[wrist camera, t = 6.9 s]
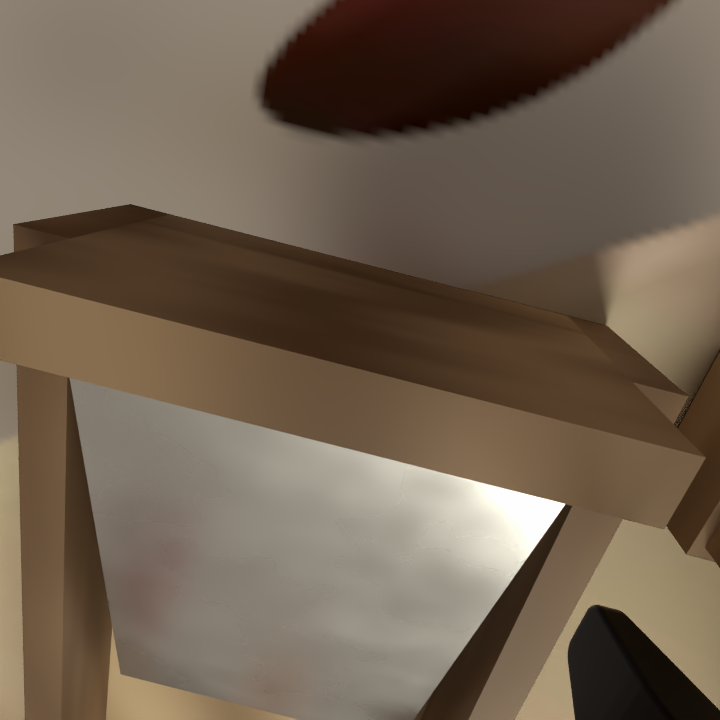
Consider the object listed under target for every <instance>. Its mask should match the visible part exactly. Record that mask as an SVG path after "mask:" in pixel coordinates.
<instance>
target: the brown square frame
mask: <svg viewBox="0 0 720 720" xmlns="http://www.w3.org/2000/svg"><path fill="white" fill-rule="evenodd" d="M678 429H679V430H680V431H681V432H682V434H683V435H684V436H685V437H686V438H687V439H688V440H689V441H690V442H691V443H692V444H693V445H694V446H695V447H696V448H697V449H698V450H699V451H700V452H701V453H702V454H703V455H704V456H705V457H706V458H705V460H704V462H703V464H702V465H701V467H700V469H699V470H698V472H697V474H696V476H695V477H694V479H693V481H692V482H691V484H690V486H689V488H688V489H687V491H686V493H685V494H684V496H683V498H682V500H681V501H680V503H679V505H678V506H677V508H676V510H675V512H674V513H673V515H672V517H671V518H670V520H669V522H668V524H667V525H666V526H667V527H668V529H669V530H670V532H671V533H672V535H673V536H674V538H675V539H676V540H677V542H678V543H679V545H680V546H681V548H682V549H683V551H684V552H685V553H686V555H690V556H694V557H698V558H702V559H706V560H710V561H714V562H716V563H717V565H718V566H719V567H720V352H719V354H718V356H717V357H716V359H715V361H714V363H713V365H712V367H711V368H710V370H709V372H708V374H707V376H706V378H705V379H704V381H703V383H702V385H701V387H700V389H699V390H698V392H697V394H696V396H695V398H694V400H693V402H692V403H691V405H690V407H689V409H688V411H687V413H686V414H685V416H684V418H683V420H682V422H681V424H680V425H679V427H678Z"/></svg>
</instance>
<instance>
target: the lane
mask: <svg viewBox="0 0 720 720" xmlns="http://www.w3.org/2000/svg"><path fill="white" fill-rule="evenodd" d="M13 227H14V252H13V253H9V254H4V255H1V256H0V360H1V361H5V362H9V363H13V364H17V395H18V396H17V397H18V441H19V484H20V526H21V569H22V611H23V654H24V697H25V720H298V719H294V718H290V717H286V716H282V715H278V714H275V713H271V712H267V711H263V710H259V709H255V708H251V707H247V706H243V705H239V704H235V703H231V702H227V701H223V700H219V699H216V698H212V697H208V696H204V695H200V694H196V693H192V692H188V691H184V690H180V689H176V688H172V687H168V686H164V685H160V684H156V683H153V682H149V681H145V680H141V679H137V678H133V677H129V676H125V675H121V674H120V668H119V662H118V656H117V651H116V645H115V639H114V633H113V627H112V622H111V616H110V610H109V604H108V598H107V592H106V587H105V581H104V575H103V569H102V563H101V558H100V552H99V546H98V540H97V534H96V529H95V523H94V517H93V511H92V505H91V500H90V494H89V488H88V482H87V476H86V471H85V465H84V459H83V453H82V447H81V441H80V436H79V430H78V424H77V418H76V412H75V407H74V401H73V395H72V389H71V383H70V378H72V379H76V380H80V381H84V382H88V383H92V384H96V385H100V386H104V387H107V388H111V389H115V390H119V391H123V392H127V393H131V394H135V395H139V396H143V397H147V398H151V399H155V400H158V401H162V402H166V403H170V404H174V405H178V406H182V407H186V408H190V409H194V410H198V411H202V412H206V413H209V414H213V415H217V416H221V417H225V418H229V419H233V420H237V421H241V422H245V423H249V424H253V425H257V426H261V427H264V428H268V429H272V430H276V431H280V432H284V433H288V434H292V435H296V436H300V437H304V438H308V439H312V440H315V441H319V442H323V443H327V444H331V445H335V446H339V447H343V448H347V449H351V450H355V451H359V452H363V453H366V454H370V455H374V456H378V457H382V458H386V459H390V460H394V461H398V462H402V463H406V464H410V465H414V466H417V467H421V468H425V469H429V470H433V471H437V472H441V473H445V474H449V475H453V476H457V477H461V478H465V479H469V480H472V481H476V482H480V483H484V484H488V485H492V486H496V487H500V488H504V489H508V490H512V491H516V492H520V493H523V494H527V495H531V496H535V497H539V498H543V499H547V500H551V501H555V502H559V503H563V504H565V505H564V507H563V508H562V509H561V511H560V512H559V514H558V515H557V516H556V518H555V519H554V521H553V522H552V524H551V525H550V526H549V528H548V529H547V531H546V532H545V534H544V535H543V536H542V538H541V539H540V541H539V542H538V544H537V545H536V546H535V548H534V549H533V551H532V552H531V553H530V555H529V556H528V558H527V559H526V561H525V562H524V563H523V565H522V566H521V568H520V569H519V571H518V572H517V573H516V575H515V576H514V578H513V579H512V580H511V582H510V583H509V585H508V586H507V588H506V589H505V590H504V592H503V593H502V595H501V596H500V598H499V599H498V600H497V602H496V603H495V605H494V606H493V607H492V609H491V610H490V612H489V613H488V615H487V616H486V617H485V619H484V620H483V622H482V623H481V625H480V626H479V627H478V629H477V630H476V632H475V633H474V635H473V636H472V637H471V639H470V640H469V642H468V643H467V644H466V646H465V647H464V649H463V650H462V652H461V653H460V654H459V656H458V657H457V659H456V660H455V662H454V663H453V664H452V666H451V667H450V669H449V670H448V671H447V673H446V674H445V676H444V677H443V679H442V680H441V681H440V683H439V684H438V686H437V687H436V689H435V690H434V691H433V693H432V694H431V696H430V697H429V699H428V700H427V701H426V703H425V704H424V706H423V707H422V708H421V710H420V711H419V713H418V714H417V716H416V717H415V718H414V720H515V718H516V716H517V714H518V712H519V711H520V709H521V707H522V705H523V703H524V701H525V699H526V698H527V696H528V694H529V692H530V690H531V688H532V686H533V685H534V683H535V681H536V679H537V677H538V675H539V673H540V672H541V670H542V668H543V666H544V664H545V662H546V660H547V659H548V657H549V655H550V653H551V651H552V649H553V647H554V646H555V644H556V642H557V640H558V638H559V636H560V634H561V633H562V631H563V629H564V627H565V625H566V623H567V621H568V620H569V618H570V616H571V614H572V612H573V610H574V608H575V607H576V605H577V603H578V601H579V599H580V597H581V595H582V594H583V592H584V590H585V588H586V586H587V584H588V582H589V581H590V579H591V577H592V575H593V573H594V571H595V569H596V568H597V566H598V564H599V562H600V560H601V558H602V556H603V555H604V553H605V551H606V549H607V547H608V545H609V543H610V542H611V540H612V538H613V536H614V534H615V532H616V530H617V529H618V527H619V525H620V523H621V521H622V519H625V520H629V521H633V522H637V523H641V524H645V525H649V526H653V527H657V528H661V529H665V527H666V525H667V524H668V522H669V520H670V518H671V517H672V515H673V513H674V512H675V510H676V508H677V506H678V505H679V503H680V501H681V500H682V498H683V496H684V494H685V493H686V491H687V489H688V488H689V486H690V484H691V482H692V481H693V479H694V477H695V476H696V474H697V472H698V470H699V469H700V467H701V465H702V464H703V462H704V460H705V458H706V457H705V456H704V455H703V454H702V453H701V452H700V451H699V450H698V449H697V448H696V447H695V446H694V445H693V444H692V443H691V442H690V441H689V440H688V439H687V438H686V437H685V436H684V435H683V434H682V432H681V431H680V430H679V429H678V428H677V427H676V426H675V425H674V423H675V421H676V419H677V417H678V415H679V414H680V412H681V410H682V408H683V406H684V404H685V402H686V401H687V399H688V396H687V395H686V394H685V393H684V392H683V391H682V390H680V389H679V388H678V387H677V386H676V385H675V384H673V383H672V382H671V381H670V380H669V379H668V378H667V377H665V376H664V375H663V374H662V373H661V372H660V371H658V370H657V369H656V368H655V367H654V366H653V365H652V364H650V363H649V362H648V361H647V360H646V359H645V358H643V357H642V356H641V355H640V354H639V353H638V352H637V351H635V350H634V349H633V348H632V347H631V346H630V345H628V344H627V343H626V342H625V341H624V340H623V339H622V338H620V337H619V336H618V335H617V334H616V333H615V332H613V331H612V330H611V329H610V328H609V327H608V326H605V325H601V324H597V323H593V322H590V321H586V320H582V319H578V318H574V317H570V316H566V315H562V314H558V313H554V312H550V311H546V310H543V309H539V308H535V307H531V306H527V305H523V304H519V303H515V302H511V301H507V300H503V299H499V298H496V297H492V296H488V295H484V294H480V293H476V292H472V291H468V290H464V289H460V288H456V287H452V286H449V285H445V284H440V283H437V282H433V281H429V280H425V279H421V278H417V277H413V276H409V275H405V274H401V273H398V272H394V271H390V270H386V269H382V268H378V267H374V266H370V265H366V264H362V263H358V262H354V261H351V260H346V259H343V258H339V257H335V256H331V255H327V254H323V253H319V252H315V251H311V250H307V249H303V248H300V247H296V246H292V245H288V244H284V243H280V242H276V241H272V240H268V239H264V238H260V237H257V236H253V235H249V234H244V233H241V232H237V231H233V230H229V229H225V228H221V227H217V226H213V225H209V224H206V223H201V222H198V221H194V220H190V219H186V218H182V217H178V216H174V215H170V214H166V213H163V212H159V211H155V210H151V209H146V208H143V207H139V206H135V205H131V204H129V205H124V206H118V207H112V208H106V209H101V210H94V211H89V212H83V213H77V214H71V215H66V216H59V217H54V218H48V219H42V220H36V221H30V222H24V223H18V224H13Z"/></svg>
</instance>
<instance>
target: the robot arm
mask: <svg viewBox="0 0 720 720" xmlns="http://www.w3.org/2000/svg"><path fill="white" fill-rule="evenodd" d="M568 665H569V673H570V681H571V689H572V698H573V706H574V714H575V720H720V710H719V709H718V708H717V707H716V706H715V705H714V704H713V703H712V702H711V701H710V700H709V699H708V698H707V697H706V696H705V695H704V694H703V693H702V692H701V691H700V690H699V689H698V688H697V687H696V686H695V685H694V684H693V683H692V682H691V681H690V680H689V679H688V678H687V677H686V676H685V675H684V673H683V672H682V671H681V670H680V669H679V668H678V667H677V666H676V665H675V664H674V663H673V662H672V661H671V660H670V659H669V658H668V657H667V656H666V655H665V654H664V653H663V652H662V651H661V650H660V649H659V648H658V647H657V646H656V645H655V644H654V643H653V642H652V641H651V640H650V639H649V638H648V637H647V636H646V635H645V634H644V633H643V632H642V631H641V630H640V629H639V628H638V627H637V626H636V625H635V624H634V623H633V622H632V621H631V620H630V619H629V617H628V616H626V615H625V614H624V613H623V612H621V611H619V610H616V609H612V608H608V607H604V606H600V605H593V606H591V607H590V608H589V609H588V610H587V612H586V614H585V616H584V617H583V619H582V621H581V623H580V625H579V626H578V628H577V630H576V632H575V634H574V635H573V637H572V639H571V641H570V644H569V648H568Z"/></svg>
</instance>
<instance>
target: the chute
mask: <svg viewBox="0 0 720 720" xmlns="http://www.w3.org/2000/svg"><path fill="white" fill-rule="evenodd" d="M70 383H71V389H72V395H73V401H74V407H75V412H76V418H77V424H78V430H79V436H80V441H81V447H82V453H83V459H84V465H85V471H86V476H87V482H88V488H89V494H90V500H91V505H92V511H93V517H94V523H95V529H96V534H97V540H98V546H99V552H100V558H101V563H102V569H103V575H104V581H105V587H106V592H107V598H108V604H109V610H110V616H111V622H112V627H113V633H114V639H115V645H116V651H117V656H118V662H119V668H120V674H121V675H125V676H129V677H133V678H137V679H141V680H145V681H149V682H153V683H156V684H160V685H164V686H168V687H172V688H176V689H180V690H184V691H188V692H192V693H196V694H200V695H204V696H208V697H212V698H216V699H219V700H223V701H227V702H231V703H235V704H239V705H243V706H247V707H251V708H255V709H259V710H263V711H267V712H271V713H275V714H278V715H282V716H286V717H290V718H294V719H298V720H414V718H415V717H416V716H417V714H418V713H419V711H420V710H421V708H422V707H423V706H424V704H425V703H426V701H427V700H428V699H429V697H430V696H431V694H432V693H433V691H434V690H435V689H436V687H437V686H438V684H439V683H440V681H441V680H442V679H443V677H444V676H445V674H446V673H447V671H448V670H449V669H450V667H451V666H452V664H453V663H454V662H455V660H456V659H457V657H458V656H459V654H460V653H461V652H462V650H463V649H464V647H465V646H466V644H467V643H468V642H469V640H470V639H471V637H472V636H473V635H474V633H475V632H476V630H477V629H478V627H479V626H480V625H481V623H482V622H483V620H484V619H485V617H486V616H487V615H488V613H489V612H490V610H491V609H492V607H493V606H494V605H495V603H496V602H497V600H498V599H499V598H500V596H501V595H502V593H503V592H504V590H505V589H506V588H507V586H508V585H509V583H510V582H511V580H512V579H513V578H514V576H515V575H516V573H517V572H518V571H519V569H520V568H521V566H522V565H523V563H524V562H525V561H526V559H527V558H528V556H529V555H530V553H531V552H532V551H533V549H534V548H535V546H536V545H537V544H538V542H539V541H540V539H541V538H542V536H543V535H544V534H545V532H546V531H547V529H548V528H549V526H550V525H551V524H552V522H553V521H554V519H555V518H556V516H557V515H558V514H559V512H560V511H561V509H562V508H563V507H564V505H565V504H563V503H559V502H555V501H551V500H547V499H543V498H539V497H535V496H531V495H527V494H523V493H520V492H516V491H512V490H508V489H504V488H500V487H496V486H492V485H488V484H484V483H480V482H476V481H472V480H469V479H465V478H461V477H457V476H453V475H449V474H445V473H441V472H437V471H433V470H429V469H425V468H421V467H417V466H414V465H410V464H406V463H402V462H398V461H394V460H390V459H386V458H382V457H378V456H374V455H370V454H366V453H363V452H359V451H355V450H351V449H347V448H343V447H339V446H335V445H331V444H327V443H323V442H319V441H315V440H312V439H308V438H304V437H300V436H296V435H292V434H288V433H284V432H280V431H276V430H272V429H268V428H264V427H261V426H257V425H253V424H249V423H245V422H241V421H237V420H233V419H229V418H225V417H221V416H217V415H213V414H209V413H206V412H202V411H198V410H194V409H190V408H186V407H182V406H178V405H174V404H170V403H166V402H162V401H158V400H155V399H151V398H147V397H143V396H139V395H135V394H131V393H127V392H123V391H119V390H115V389H111V388H107V387H104V386H100V385H96V384H92V383H88V382H84V381H80V380H76V379H72V378H70Z"/></svg>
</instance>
